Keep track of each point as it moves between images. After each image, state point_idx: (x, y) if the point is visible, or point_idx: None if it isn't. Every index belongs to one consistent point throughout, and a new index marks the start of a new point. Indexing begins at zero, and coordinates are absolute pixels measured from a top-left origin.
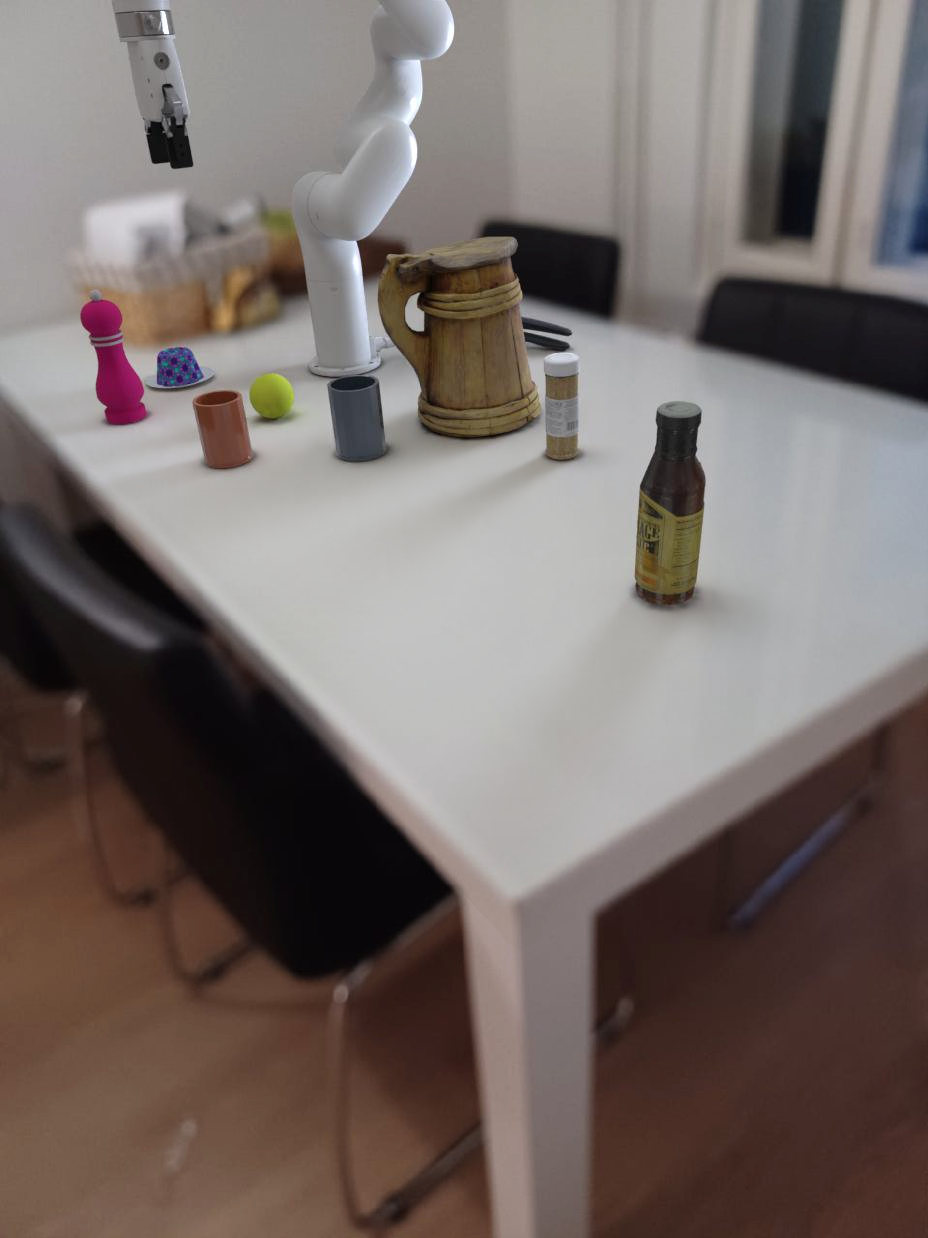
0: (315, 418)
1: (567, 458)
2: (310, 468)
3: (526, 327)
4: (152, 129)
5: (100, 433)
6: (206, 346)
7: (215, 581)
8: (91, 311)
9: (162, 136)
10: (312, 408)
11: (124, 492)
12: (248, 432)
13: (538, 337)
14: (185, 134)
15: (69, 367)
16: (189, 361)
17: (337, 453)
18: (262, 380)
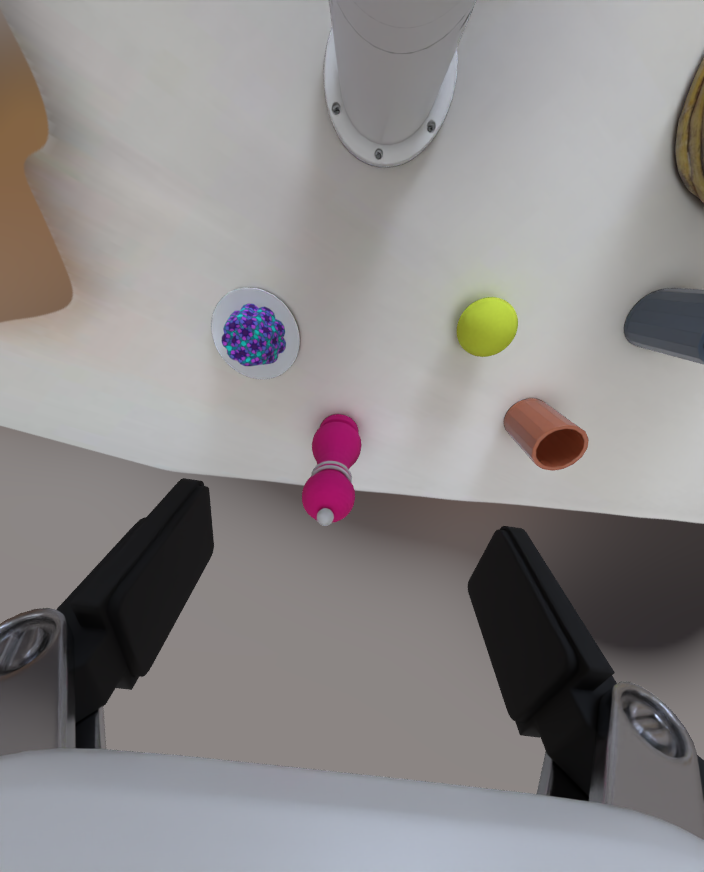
0: (527, 291)
1: None
2: (621, 380)
3: None
4: (105, 700)
5: (359, 462)
6: (104, 216)
7: (672, 514)
8: (342, 518)
9: (139, 614)
10: (496, 271)
11: (498, 497)
12: (554, 409)
13: None
14: (646, 706)
15: (109, 403)
16: (271, 332)
17: (637, 346)
18: (498, 345)
